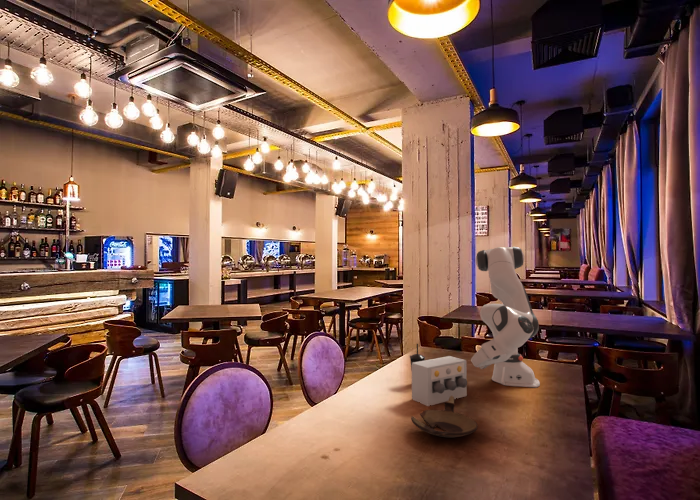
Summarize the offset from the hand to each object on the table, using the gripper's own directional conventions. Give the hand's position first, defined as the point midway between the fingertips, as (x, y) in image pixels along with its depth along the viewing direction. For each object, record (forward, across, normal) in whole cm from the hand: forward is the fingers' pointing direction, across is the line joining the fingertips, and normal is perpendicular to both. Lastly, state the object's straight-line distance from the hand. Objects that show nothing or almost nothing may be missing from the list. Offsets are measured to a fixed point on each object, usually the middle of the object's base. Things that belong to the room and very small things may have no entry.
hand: (481, 367), depth 163 cm
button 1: (+16, 0, 0) cm, 16 cm away
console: (+24, +7, -1) cm, 25 cm away
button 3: (+16, +14, 0) cm, 21 cm away
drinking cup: (+38, +2, -15) cm, 41 cm away
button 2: (+16, +7, 0) cm, 17 cm away
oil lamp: (+5, +30, +18) cm, 36 cm away
